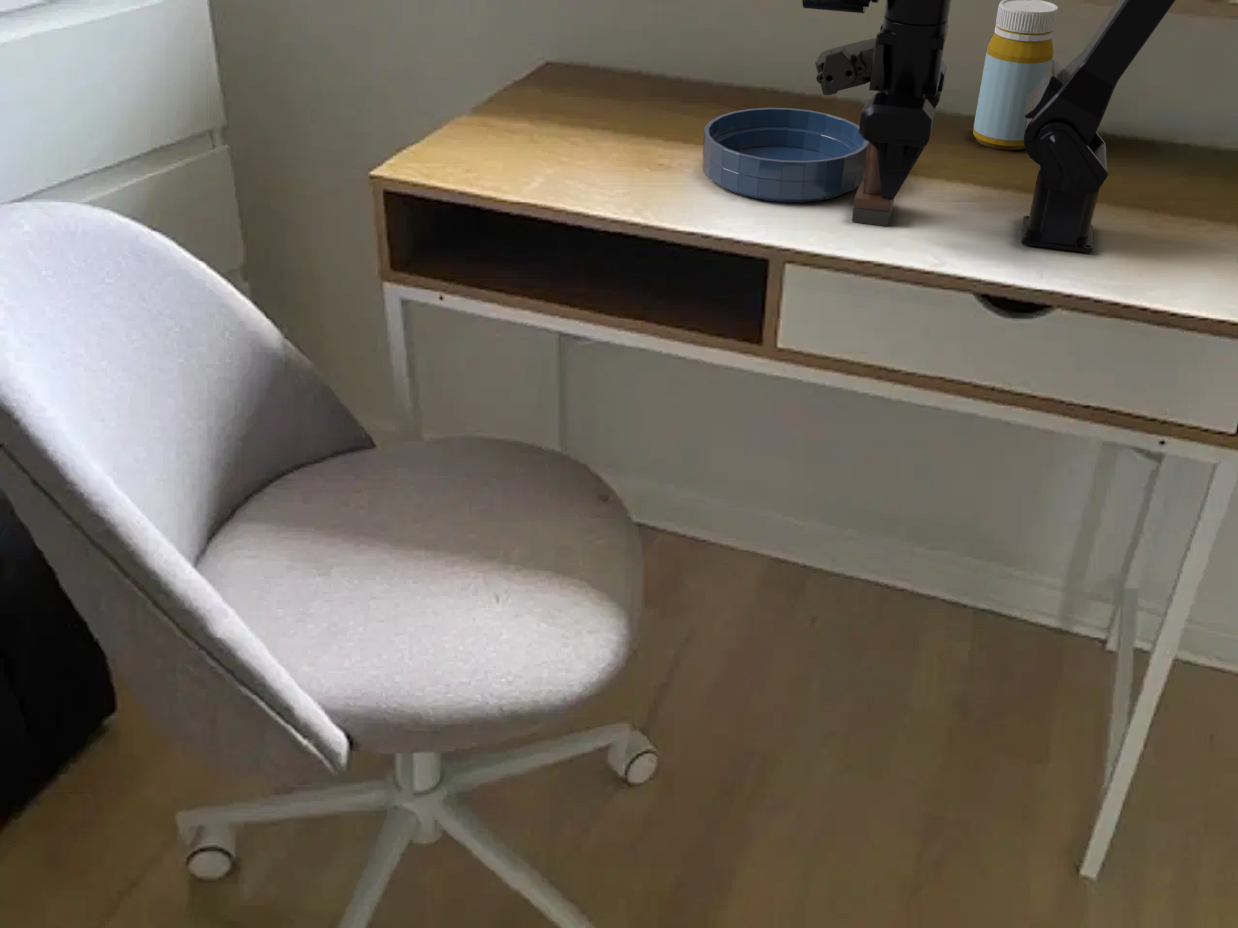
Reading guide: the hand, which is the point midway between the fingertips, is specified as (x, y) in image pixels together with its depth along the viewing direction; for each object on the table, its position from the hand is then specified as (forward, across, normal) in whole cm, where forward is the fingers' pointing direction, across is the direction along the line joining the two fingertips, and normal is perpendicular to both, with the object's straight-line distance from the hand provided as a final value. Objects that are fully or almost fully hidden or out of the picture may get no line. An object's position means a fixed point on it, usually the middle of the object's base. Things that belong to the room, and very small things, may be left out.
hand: (893, 182), depth 126 cm
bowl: (+4, -8, -12) cm, 15 cm away
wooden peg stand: (+4, 0, -2) cm, 4 cm away
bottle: (+4, -27, +10) cm, 29 cm away
